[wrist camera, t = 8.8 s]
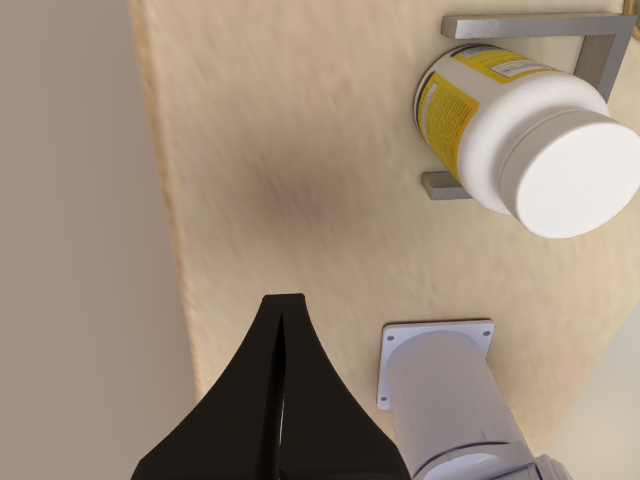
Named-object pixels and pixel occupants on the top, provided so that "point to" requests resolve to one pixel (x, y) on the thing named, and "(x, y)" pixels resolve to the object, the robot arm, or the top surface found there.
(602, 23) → the bracket
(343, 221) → the top surface
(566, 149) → the supplement bottle
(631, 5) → the gold disc
